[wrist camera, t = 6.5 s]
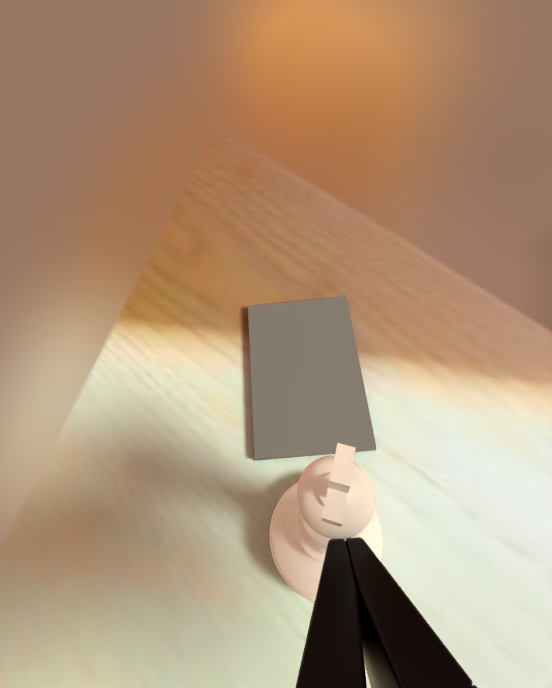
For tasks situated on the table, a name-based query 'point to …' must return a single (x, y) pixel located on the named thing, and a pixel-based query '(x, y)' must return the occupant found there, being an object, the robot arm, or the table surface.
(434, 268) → the table surface
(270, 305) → the slate mat
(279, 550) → the chess piece
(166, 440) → the table surface
